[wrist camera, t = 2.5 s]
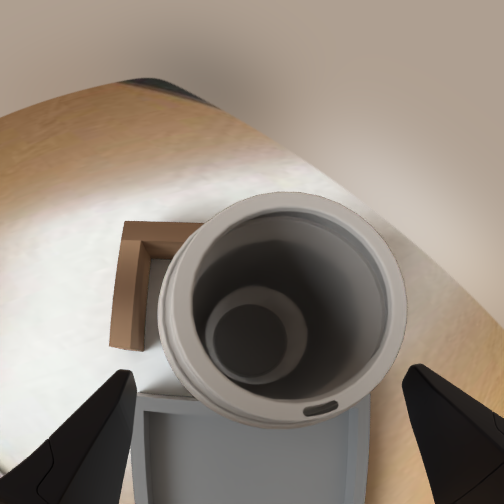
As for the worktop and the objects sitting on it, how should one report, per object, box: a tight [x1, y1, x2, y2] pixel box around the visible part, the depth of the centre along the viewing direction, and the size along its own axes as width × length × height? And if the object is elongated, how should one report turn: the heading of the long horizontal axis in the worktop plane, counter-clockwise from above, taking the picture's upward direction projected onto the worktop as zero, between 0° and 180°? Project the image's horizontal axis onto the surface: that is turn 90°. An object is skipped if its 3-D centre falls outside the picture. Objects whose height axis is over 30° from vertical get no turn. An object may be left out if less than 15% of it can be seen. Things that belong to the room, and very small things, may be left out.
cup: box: [158, 192, 407, 429], centre depth 13 cm, size 7×7×12 cm
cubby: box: [109, 221, 204, 352], centre depth 18 cm, size 7×15×3 cm, turn 90°
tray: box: [131, 392, 370, 504], centre depth 14 cm, size 14×14×2 cm
